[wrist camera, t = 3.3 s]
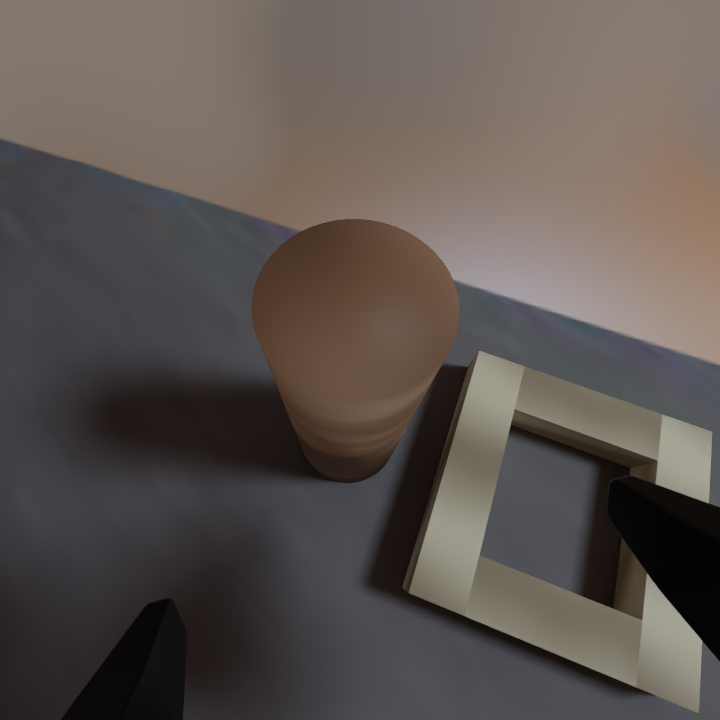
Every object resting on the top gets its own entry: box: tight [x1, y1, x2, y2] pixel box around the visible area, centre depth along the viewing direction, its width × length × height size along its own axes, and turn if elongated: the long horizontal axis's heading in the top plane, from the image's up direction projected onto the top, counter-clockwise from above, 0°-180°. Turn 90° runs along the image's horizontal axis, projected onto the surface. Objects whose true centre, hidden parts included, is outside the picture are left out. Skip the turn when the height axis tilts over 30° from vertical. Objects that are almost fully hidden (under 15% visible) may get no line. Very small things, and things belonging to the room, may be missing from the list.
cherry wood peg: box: [252, 219, 460, 483], centre depth 15 cm, size 5×5×12 cm
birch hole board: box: [402, 351, 712, 713], centre depth 19 cm, size 11×11×2 cm
